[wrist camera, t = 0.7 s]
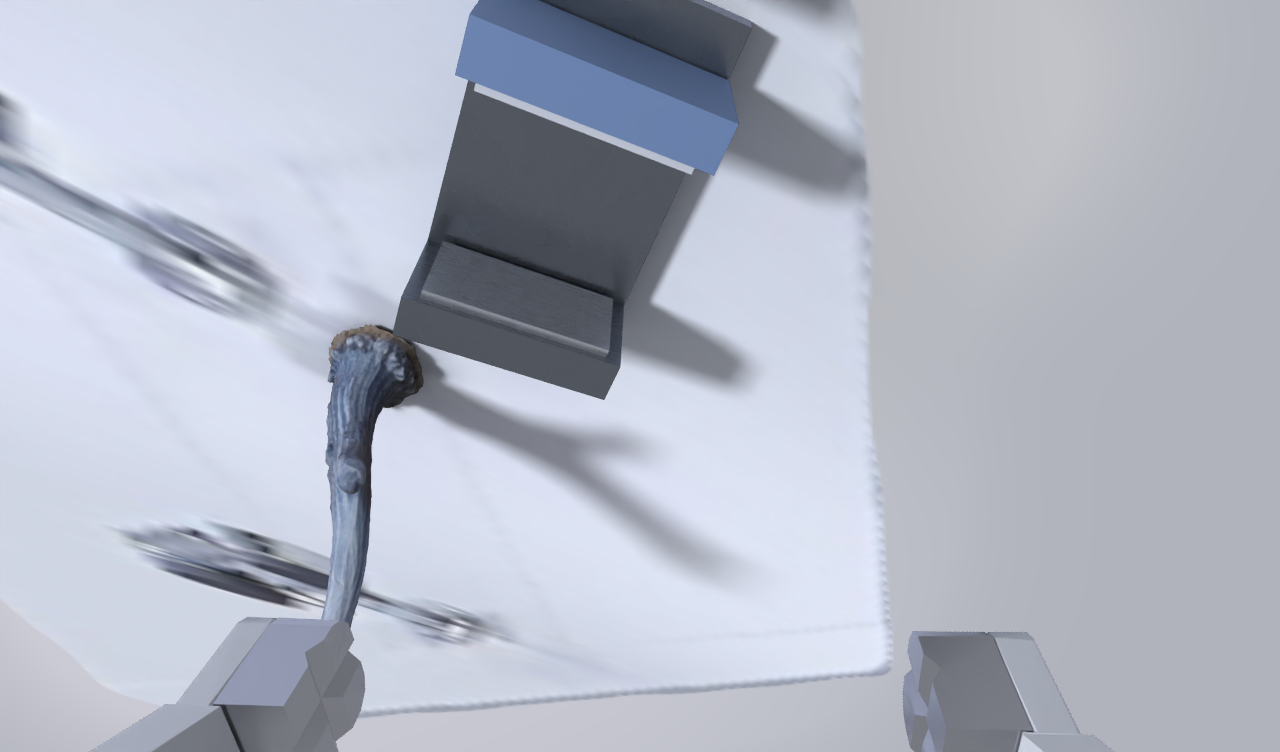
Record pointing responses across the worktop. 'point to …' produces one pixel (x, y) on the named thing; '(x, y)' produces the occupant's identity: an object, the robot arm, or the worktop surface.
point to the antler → (358, 447)
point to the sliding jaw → (598, 83)
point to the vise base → (553, 218)
